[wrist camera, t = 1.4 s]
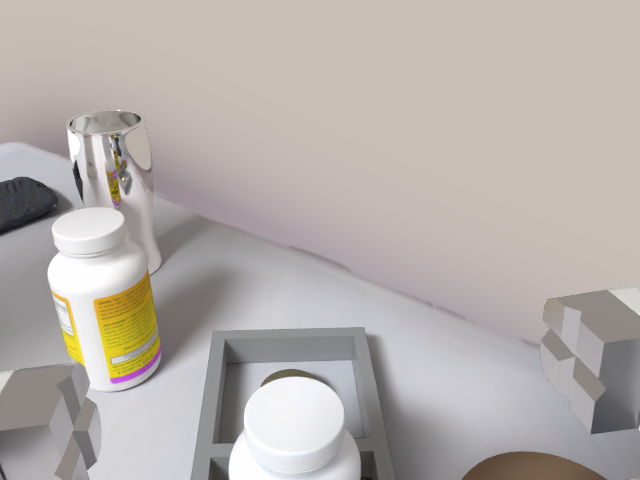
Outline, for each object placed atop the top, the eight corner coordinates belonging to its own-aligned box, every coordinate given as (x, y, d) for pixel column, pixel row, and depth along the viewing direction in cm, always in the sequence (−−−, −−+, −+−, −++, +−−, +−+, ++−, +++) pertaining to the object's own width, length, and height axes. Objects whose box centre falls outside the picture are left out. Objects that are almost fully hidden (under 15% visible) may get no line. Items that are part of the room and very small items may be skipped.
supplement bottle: (175, 342, 48) (156, 204, 41) (142, 401, 42) (114, 251, 35) (98, 333, 48) (68, 196, 42) (56, 390, 43) (13, 242, 36)
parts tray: (424, 674, 27) (430, 648, 26) (169, 691, 27) (162, 665, 25) (362, 351, 47) (364, 327, 46) (215, 355, 46) (212, 330, 45)
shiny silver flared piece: (93, 290, 54) (60, 137, 46) (94, 252, 59) (64, 111, 52) (169, 277, 56) (149, 130, 48) (163, 242, 61) (144, 105, 54)
